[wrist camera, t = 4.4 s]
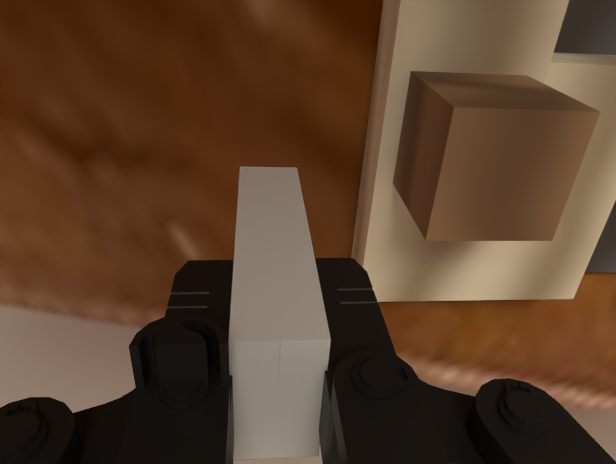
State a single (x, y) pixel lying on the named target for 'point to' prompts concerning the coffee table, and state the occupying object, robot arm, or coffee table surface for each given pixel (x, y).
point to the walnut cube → (489, 155)
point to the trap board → (506, 61)
